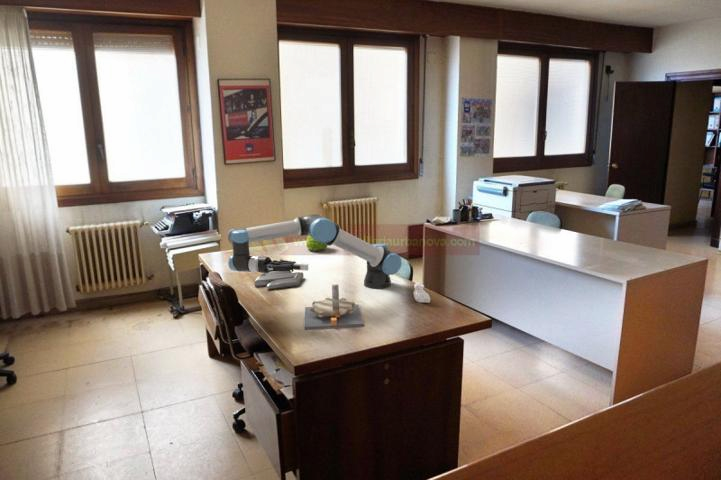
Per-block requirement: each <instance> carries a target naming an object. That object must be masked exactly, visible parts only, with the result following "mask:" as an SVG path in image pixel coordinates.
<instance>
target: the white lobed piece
mask: <svg viewBox="0 0 721 480" xmlns="http://www.w3.org/2000/svg"><path fill="white" fill-rule="evenodd" d="M311 304H312V306H309V307H310V312H311V313H312V312H314V313H316V314H318V316H319V317H323V316H335V317H340V315H344V314H347V313H353V308H354V307H355V305H356V303H355V302H354V301H348V300H347V299H346V297H345V298H343V297H342V298H340V290H339V284H338V283H334V284H331V297H326V298H325V299H321V300H318V301H312V303H311Z"/></svg>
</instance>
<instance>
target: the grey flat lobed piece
mask: <svg viewBox="0 0 721 480" xmlns="http://www.w3.org/2000/svg"><path fill="white" fill-rule="evenodd" d="M303 280H304V273H303V272H292V270H290V271H272V272H268V273H261V274H260V275H259V276H258V277H257V278H256V279H255V280H254V288H259V287H258V286H261V287H266V289H267V290H272V289H273V290H274V289H285V288H294V287H298V286H299V285H300V284H301V283H302V281H303Z"/></svg>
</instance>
